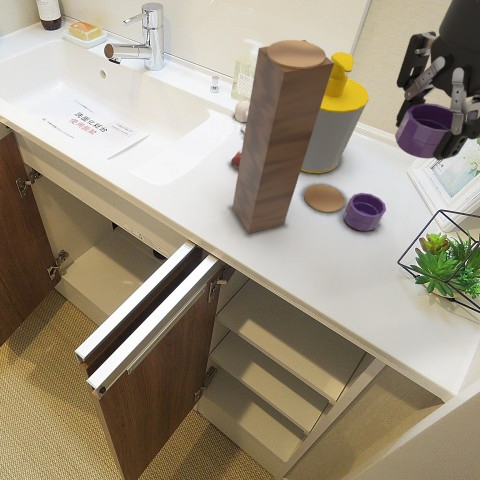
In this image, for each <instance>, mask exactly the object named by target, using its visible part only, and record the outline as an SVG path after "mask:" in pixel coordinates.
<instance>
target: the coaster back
mask: <svg viewBox="0 0 480 480" xmlns="http://www.w3.org/2000/svg"><path fill="white" fill-rule="evenodd" d="M303 197H304V198H303V199H304V202H305V203H306V204H307V205H308V206H309V207H311V209H313V210H315V211H317V212H321V213H327V214H329V213H336V212H338V211H340V210H342V209H343V208H344V206H345V197H344V195H343V194H342V193H341V191H340V190H338V189H337V188H335V187H332V186H330V185H325V184H314V185H311V186H309V187H307V188H306V190H305V191H304V194H303Z"/></svg>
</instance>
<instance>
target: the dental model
mask: <svg viewBox="0 0 480 480" xmlns="http://www.w3.org/2000/svg"><path fill="white" fill-rule="evenodd" d="M241 153H242V150H240V151H239V150H238V151H237V152H236V153H235V155H234V156H233V157H232V159H230V160H231V161H230V164H231V165H233V166H235V167H237V168H239V165H240V159H241Z"/></svg>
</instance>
